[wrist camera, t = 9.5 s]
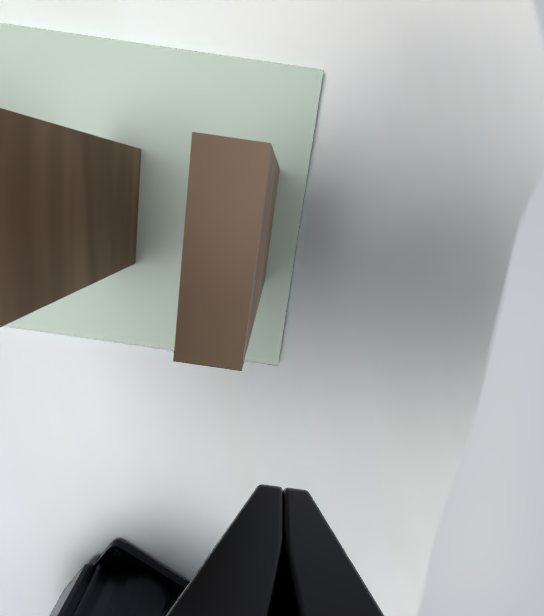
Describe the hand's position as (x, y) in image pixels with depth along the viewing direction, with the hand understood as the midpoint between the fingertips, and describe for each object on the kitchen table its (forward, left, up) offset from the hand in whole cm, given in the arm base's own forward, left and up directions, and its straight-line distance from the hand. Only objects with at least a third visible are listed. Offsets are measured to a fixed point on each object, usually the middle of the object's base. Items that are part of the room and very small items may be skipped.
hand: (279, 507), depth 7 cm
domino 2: (+3, -2, -13) cm, 14 cm away
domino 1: (+9, +1, -13) cm, 16 cm away
